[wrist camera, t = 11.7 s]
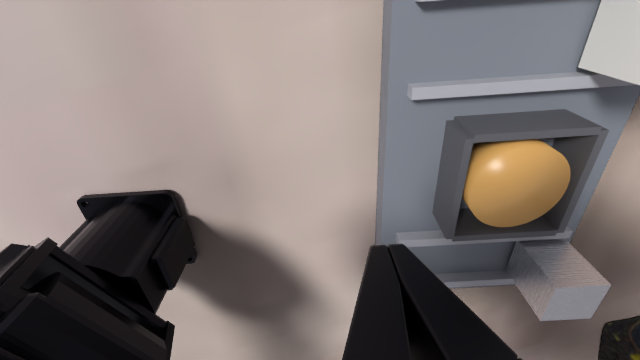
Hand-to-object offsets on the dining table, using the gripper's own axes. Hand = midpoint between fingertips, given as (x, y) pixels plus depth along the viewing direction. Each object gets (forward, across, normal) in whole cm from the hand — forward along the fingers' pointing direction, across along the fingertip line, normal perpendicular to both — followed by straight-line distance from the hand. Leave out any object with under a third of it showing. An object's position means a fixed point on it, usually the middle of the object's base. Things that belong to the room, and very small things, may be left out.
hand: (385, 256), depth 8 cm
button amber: (+10, -8, +3) cm, 13 cm away
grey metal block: (+10, -12, +10) cm, 19 cm away
